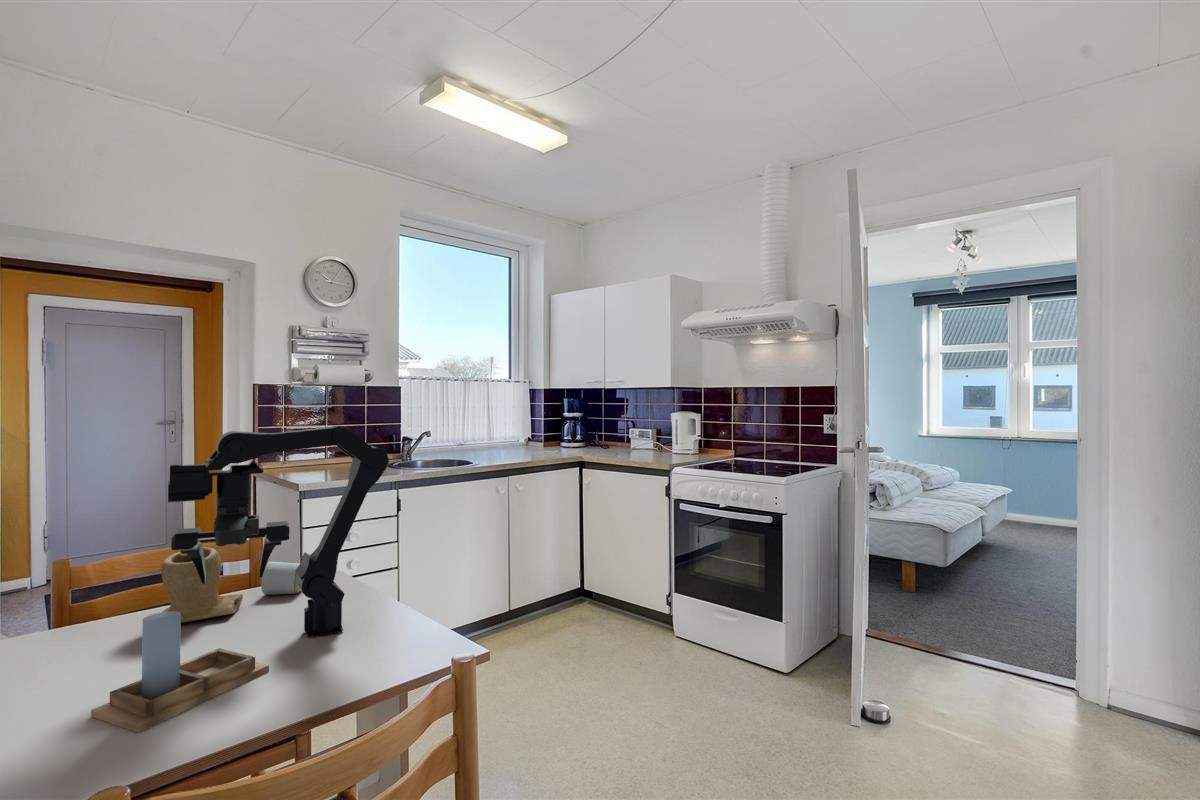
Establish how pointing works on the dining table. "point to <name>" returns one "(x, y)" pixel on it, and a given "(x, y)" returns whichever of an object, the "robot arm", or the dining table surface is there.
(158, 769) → the dining table surface
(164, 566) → the stone cup
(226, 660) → the wooden compartment tray
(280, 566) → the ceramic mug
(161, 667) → the blue-grey round cylinder
